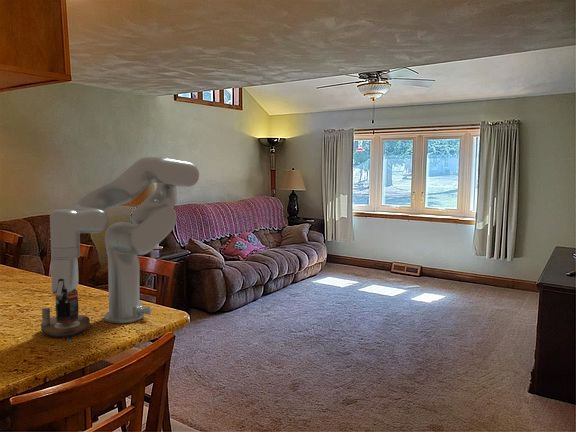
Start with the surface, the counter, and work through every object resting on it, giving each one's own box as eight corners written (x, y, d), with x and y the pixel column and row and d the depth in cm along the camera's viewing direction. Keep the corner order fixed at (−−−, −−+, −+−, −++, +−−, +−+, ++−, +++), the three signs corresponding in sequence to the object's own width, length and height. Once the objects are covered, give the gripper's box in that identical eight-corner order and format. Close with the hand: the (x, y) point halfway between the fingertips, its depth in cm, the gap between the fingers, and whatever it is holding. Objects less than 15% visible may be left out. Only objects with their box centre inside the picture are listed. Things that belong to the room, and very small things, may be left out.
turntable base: (92, 326, 137) (92, 322, 137) (70, 341, 125) (70, 337, 125) (59, 324, 138) (58, 321, 138) (34, 340, 125) (34, 336, 125)
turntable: (81, 316, 142) (80, 296, 141) (96, 327, 132) (96, 306, 132) (35, 325, 133) (35, 304, 132) (48, 337, 123) (48, 315, 123)
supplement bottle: (82, 317, 133) (81, 281, 132) (72, 324, 127) (71, 286, 126) (63, 317, 133) (62, 280, 132) (51, 324, 127) (50, 285, 126)
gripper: (61, 247, 135) (62, 304, 137) (41, 258, 119) (43, 323, 120) (87, 246, 137) (88, 303, 139) (71, 258, 120) (72, 322, 122)
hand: (67, 312), depth 130 cm, fingers closed on supplement bottle, 6 cm apart
